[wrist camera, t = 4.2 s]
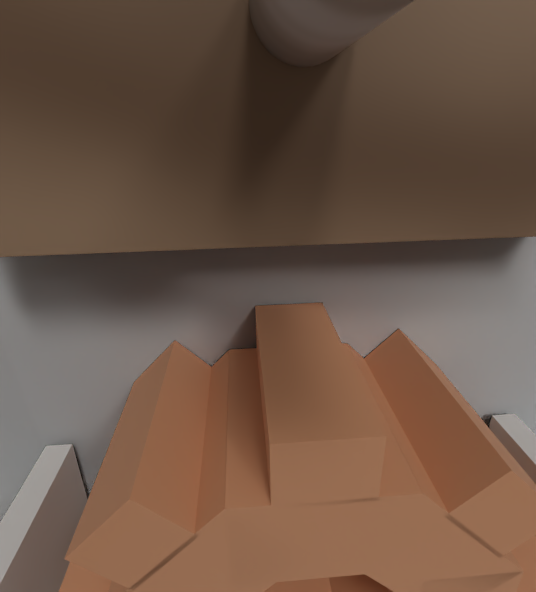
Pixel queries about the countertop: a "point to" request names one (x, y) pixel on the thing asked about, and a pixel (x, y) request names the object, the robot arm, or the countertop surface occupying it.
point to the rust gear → (303, 475)
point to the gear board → (264, 123)
